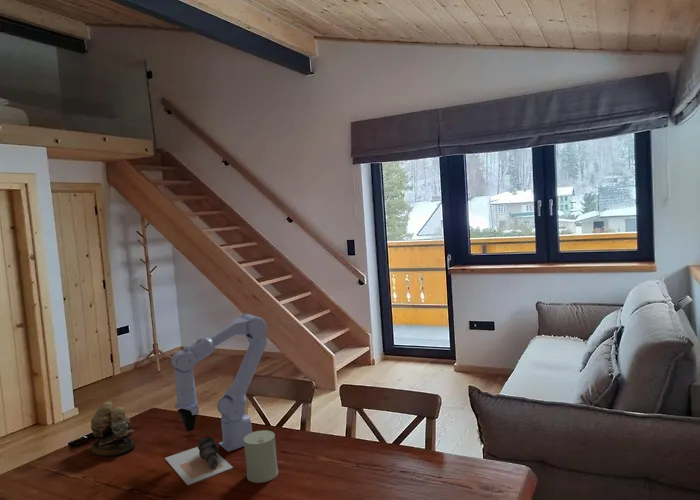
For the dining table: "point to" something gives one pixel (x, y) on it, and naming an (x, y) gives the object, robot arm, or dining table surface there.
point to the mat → (195, 466)
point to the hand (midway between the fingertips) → (190, 430)
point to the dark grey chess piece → (208, 451)
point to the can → (260, 456)
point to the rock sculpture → (111, 431)
